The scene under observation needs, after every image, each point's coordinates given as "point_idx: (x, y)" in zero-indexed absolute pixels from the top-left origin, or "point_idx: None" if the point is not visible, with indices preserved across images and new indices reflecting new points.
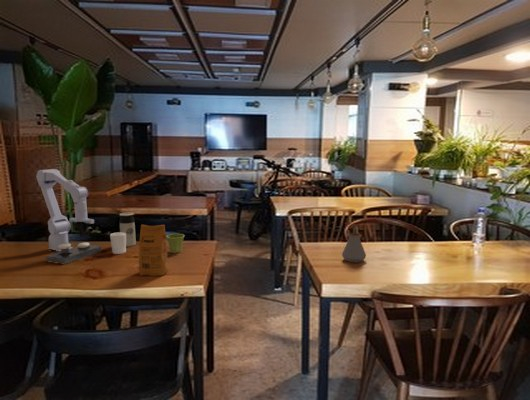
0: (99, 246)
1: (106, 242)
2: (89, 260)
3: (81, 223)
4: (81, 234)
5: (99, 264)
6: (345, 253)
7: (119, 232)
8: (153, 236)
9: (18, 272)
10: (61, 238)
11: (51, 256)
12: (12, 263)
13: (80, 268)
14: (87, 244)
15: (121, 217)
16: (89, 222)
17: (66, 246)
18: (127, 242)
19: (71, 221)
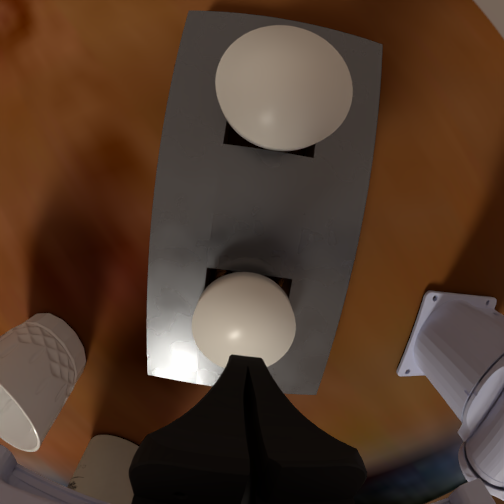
0: (150, 364)
1: None
2: (93, 148)
3: (203, 502)
4: (236, 366)
5: (12, 109)
6: None
7: (27, 449)
8: None
9: None
10: (473, 352)
11: (334, 34)
12: (496, 53)
13: (67, 20)
14: (192, 319)
15: None
16: (32, 484)
17: (228, 51)
18: (92, 448)
19: (458, 494)
